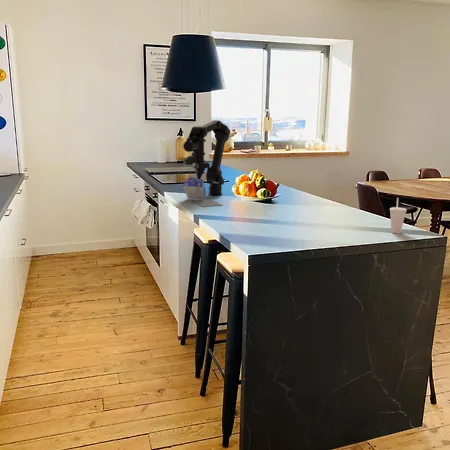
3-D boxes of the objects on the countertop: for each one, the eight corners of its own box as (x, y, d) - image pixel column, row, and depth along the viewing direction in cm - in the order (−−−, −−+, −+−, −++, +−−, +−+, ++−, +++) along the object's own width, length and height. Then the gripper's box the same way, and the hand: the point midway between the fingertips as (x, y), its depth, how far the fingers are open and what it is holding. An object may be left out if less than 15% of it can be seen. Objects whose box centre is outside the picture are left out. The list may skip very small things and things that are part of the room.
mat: (211, 200, 254) (211, 199, 254) (222, 205, 240) (222, 205, 240) (192, 201, 250) (192, 200, 250) (202, 206, 236) (202, 206, 236)
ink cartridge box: (206, 191, 258) (202, 176, 245) (205, 199, 255) (200, 184, 243) (189, 190, 260) (183, 175, 247) (187, 199, 257) (181, 184, 244)
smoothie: (384, 230, 192) (388, 196, 189) (400, 230, 193) (403, 196, 189) (391, 234, 186) (394, 199, 183) (407, 234, 186) (410, 199, 183)
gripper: (179, 149, 256) (179, 178, 260) (189, 152, 239) (189, 182, 243) (198, 149, 260) (198, 177, 264) (210, 152, 244) (210, 182, 247)
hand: (198, 179), depth 254 cm, fingers closed
